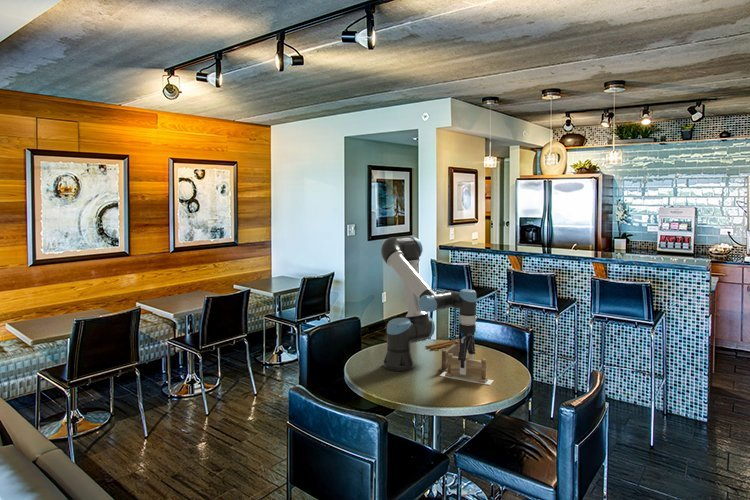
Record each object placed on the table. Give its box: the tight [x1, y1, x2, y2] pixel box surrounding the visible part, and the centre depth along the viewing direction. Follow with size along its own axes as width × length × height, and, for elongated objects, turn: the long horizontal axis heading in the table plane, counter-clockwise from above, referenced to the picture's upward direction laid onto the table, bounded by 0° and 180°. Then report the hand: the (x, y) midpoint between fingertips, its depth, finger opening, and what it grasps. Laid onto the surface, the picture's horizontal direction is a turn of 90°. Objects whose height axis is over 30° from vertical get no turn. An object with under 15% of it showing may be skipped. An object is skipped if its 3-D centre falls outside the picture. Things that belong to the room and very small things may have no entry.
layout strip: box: [439, 372, 494, 386], centre depth 230 cm, size 24×6×1 cm, turn 61°
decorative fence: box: [424, 338, 460, 352], centre depth 283 cm, size 25×2×10 cm
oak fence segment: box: [445, 353, 489, 383], centre depth 230 cm, size 4×19×10 cm, turn 61°
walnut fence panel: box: [438, 341, 459, 373], centre depth 248 cm, size 4×21×10 cm, turn 151°
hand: (466, 370), depth 230 cm, fingers open, 9 cm apart
